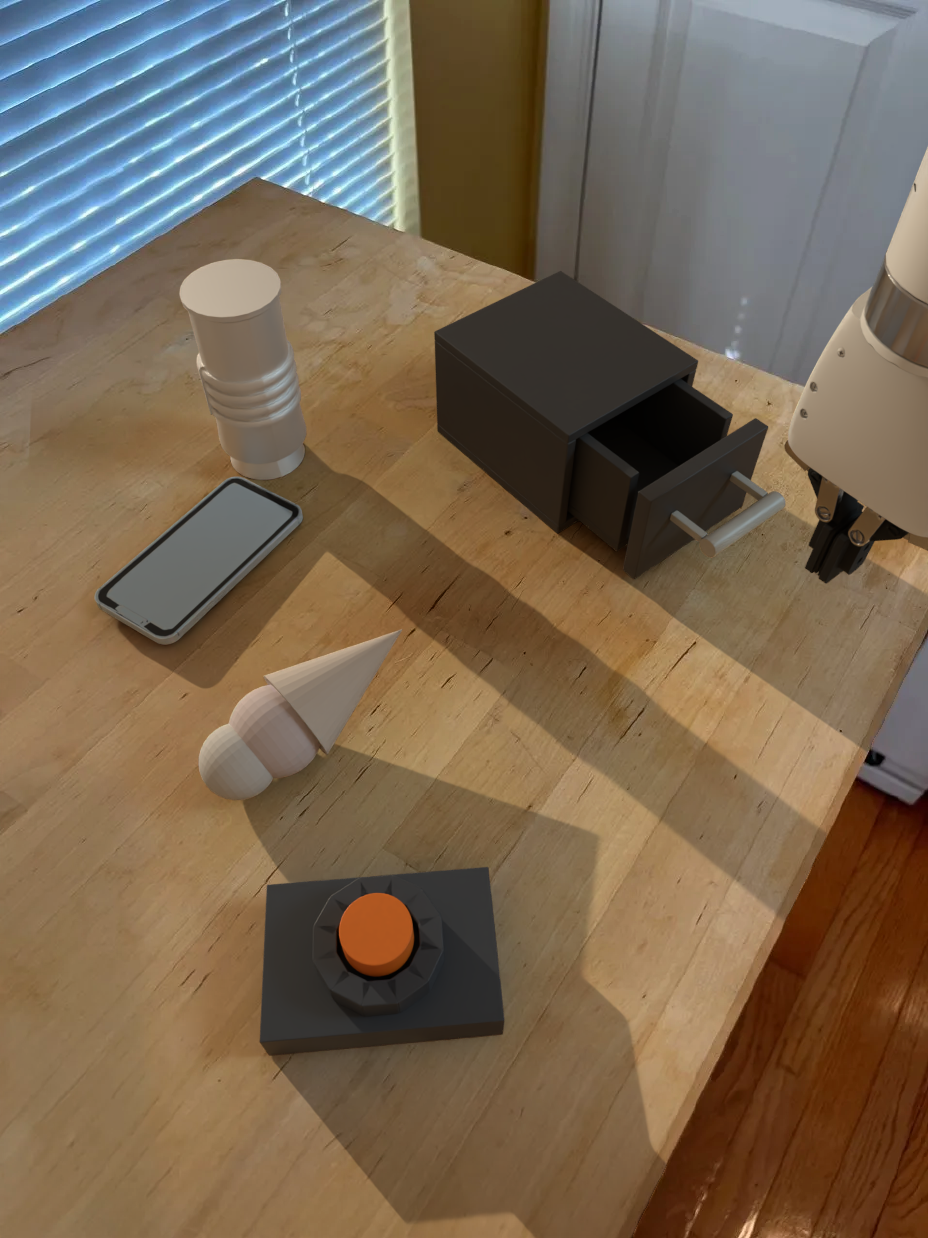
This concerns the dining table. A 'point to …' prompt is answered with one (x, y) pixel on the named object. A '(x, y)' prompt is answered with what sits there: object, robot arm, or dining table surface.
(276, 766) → the ice cream cone
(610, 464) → the drawer
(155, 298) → the dining table surface
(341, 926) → the button
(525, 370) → the cabinet
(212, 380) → the beige ribbed canister
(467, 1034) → the control block
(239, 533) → the smartphone
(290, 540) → the dining table surface
